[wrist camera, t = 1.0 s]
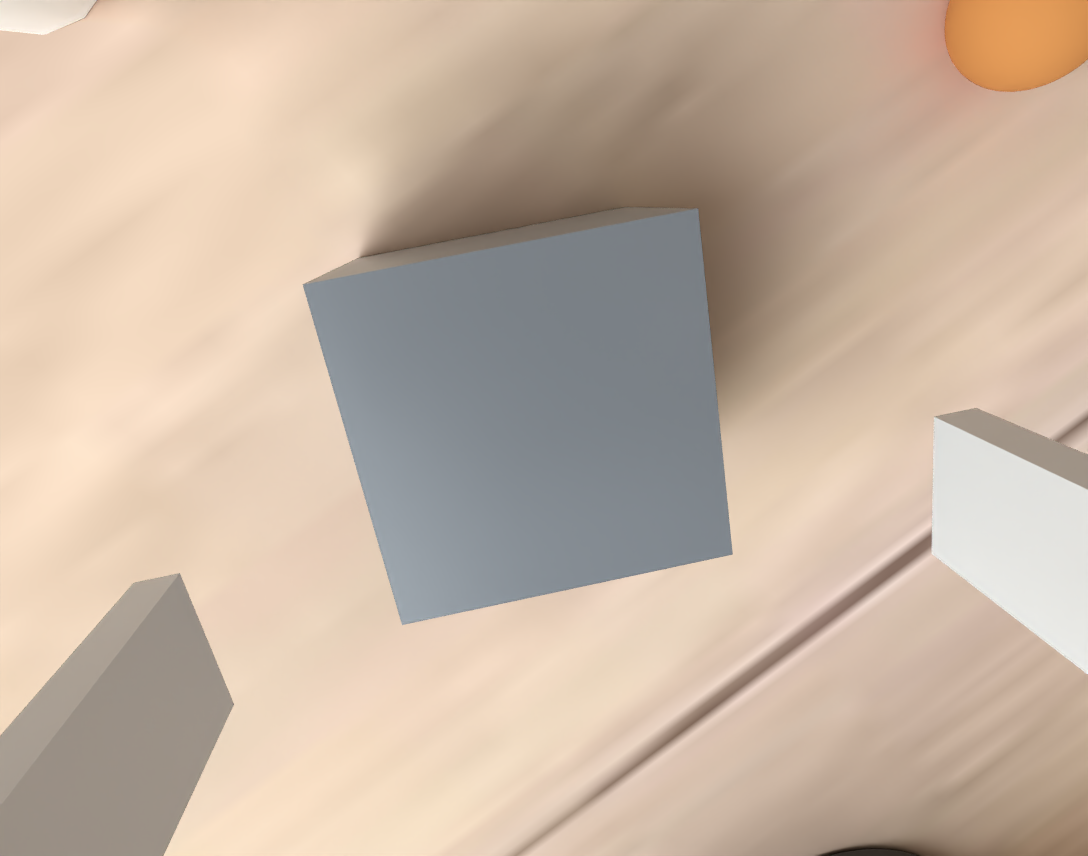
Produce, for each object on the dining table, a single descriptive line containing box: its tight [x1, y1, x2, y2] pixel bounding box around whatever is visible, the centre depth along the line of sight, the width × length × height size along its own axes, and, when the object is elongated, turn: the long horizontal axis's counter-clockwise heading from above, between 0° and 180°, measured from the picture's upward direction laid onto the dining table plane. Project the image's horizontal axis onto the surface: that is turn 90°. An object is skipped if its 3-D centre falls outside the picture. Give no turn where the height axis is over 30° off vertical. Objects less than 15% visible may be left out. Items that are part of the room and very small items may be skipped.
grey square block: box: [303, 207, 732, 625], centre depth 23 cm, size 10×10×9 cm
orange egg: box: [945, 0, 1088, 92], centre depth 23 cm, size 5×5×5 cm
